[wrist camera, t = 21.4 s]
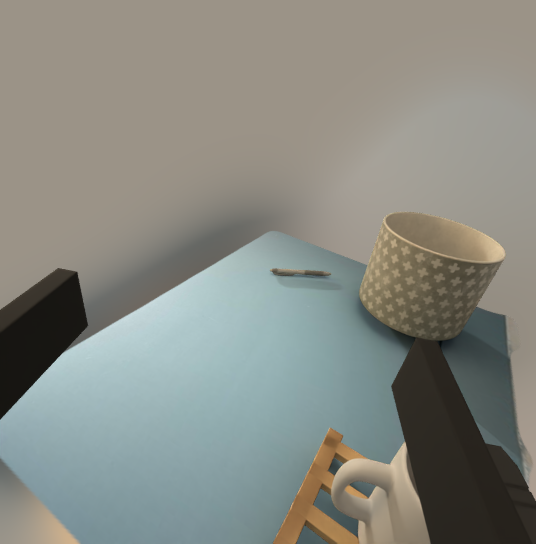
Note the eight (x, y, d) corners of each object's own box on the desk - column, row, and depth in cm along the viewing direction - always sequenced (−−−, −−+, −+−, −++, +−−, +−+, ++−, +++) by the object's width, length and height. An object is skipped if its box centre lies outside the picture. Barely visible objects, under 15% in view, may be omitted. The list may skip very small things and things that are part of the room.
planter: (372, 349, 54) (412, 254, 44) (344, 285, 70) (369, 206, 60) (476, 357, 56) (536, 268, 46) (426, 293, 72) (462, 218, 62)
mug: (449, 512, 30) (511, 445, 24) (475, 645, 23) (572, 594, 17) (323, 467, 32) (353, 396, 26) (309, 577, 25) (347, 511, 19)
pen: (269, 272, 70) (270, 267, 69) (330, 276, 72) (331, 271, 72) (269, 275, 69) (270, 269, 69) (331, 278, 72) (332, 273, 71)
